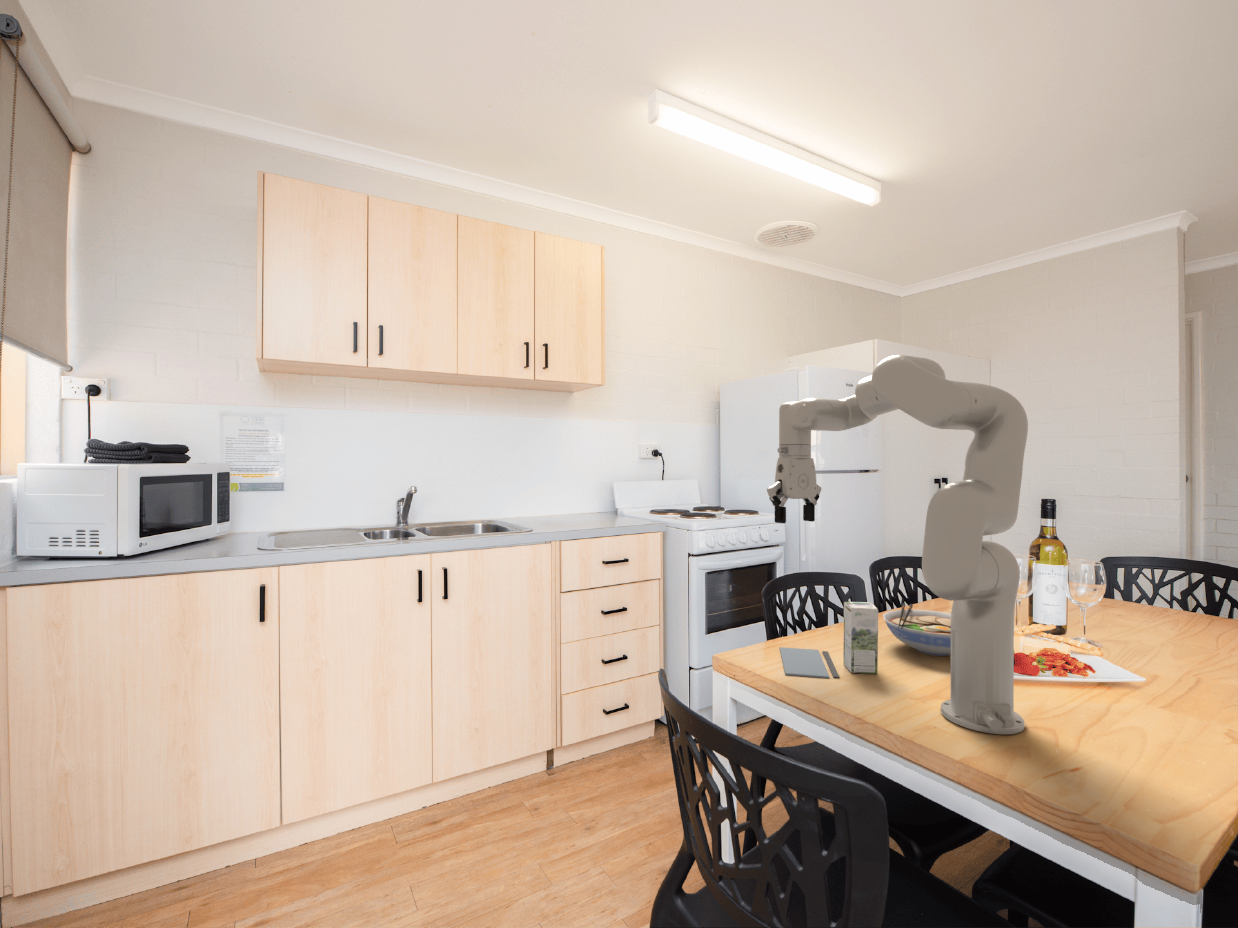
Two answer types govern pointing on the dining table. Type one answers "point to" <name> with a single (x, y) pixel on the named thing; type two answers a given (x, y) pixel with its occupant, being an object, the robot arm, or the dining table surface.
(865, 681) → the dining table surface
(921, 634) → the ramen bowl
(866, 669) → the syrup box
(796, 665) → the mat
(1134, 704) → the dining table surface
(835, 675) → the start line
